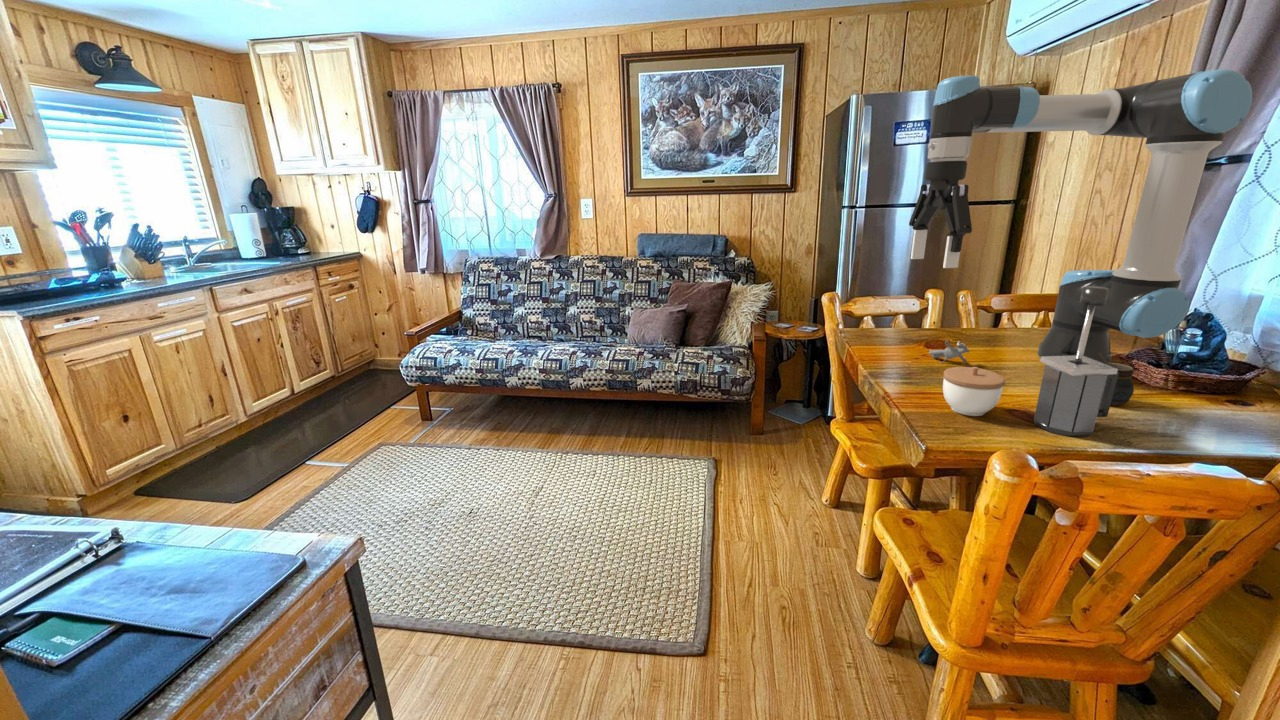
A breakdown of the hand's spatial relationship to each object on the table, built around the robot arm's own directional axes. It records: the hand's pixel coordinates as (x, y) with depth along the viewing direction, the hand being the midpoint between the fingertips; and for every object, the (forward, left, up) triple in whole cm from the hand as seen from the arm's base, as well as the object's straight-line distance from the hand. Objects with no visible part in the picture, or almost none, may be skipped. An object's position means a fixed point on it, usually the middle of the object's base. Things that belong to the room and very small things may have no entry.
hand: (932, 263), depth 119 cm
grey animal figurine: (-15, -13, -28) cm, 35 cm away
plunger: (-16, +25, -19) cm, 35 cm away
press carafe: (-17, +25, -28) cm, 41 cm away
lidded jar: (-2, +16, -28) cm, 33 cm away
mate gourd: (-34, +14, -28) cm, 46 cm away
